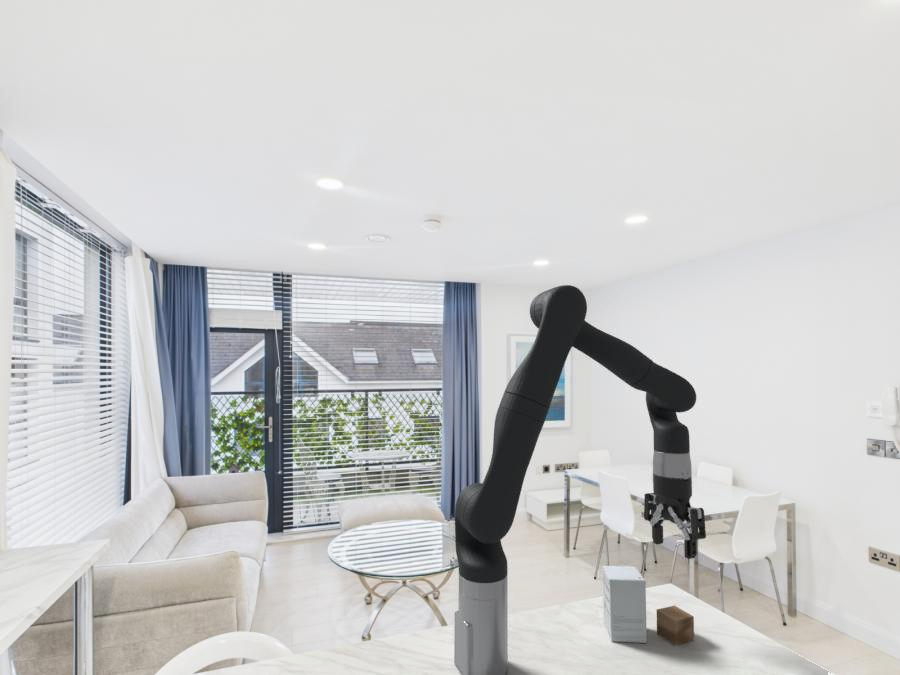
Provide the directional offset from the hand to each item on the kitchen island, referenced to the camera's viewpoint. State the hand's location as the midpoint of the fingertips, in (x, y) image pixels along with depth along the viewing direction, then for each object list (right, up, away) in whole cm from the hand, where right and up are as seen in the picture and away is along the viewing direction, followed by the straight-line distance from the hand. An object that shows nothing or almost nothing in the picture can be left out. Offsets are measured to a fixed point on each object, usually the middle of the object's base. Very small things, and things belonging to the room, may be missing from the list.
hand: (673, 550), depth 104 cm
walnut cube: (0, -18, -1) cm, 18 cm away
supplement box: (-10, -18, 0) cm, 21 cm away
